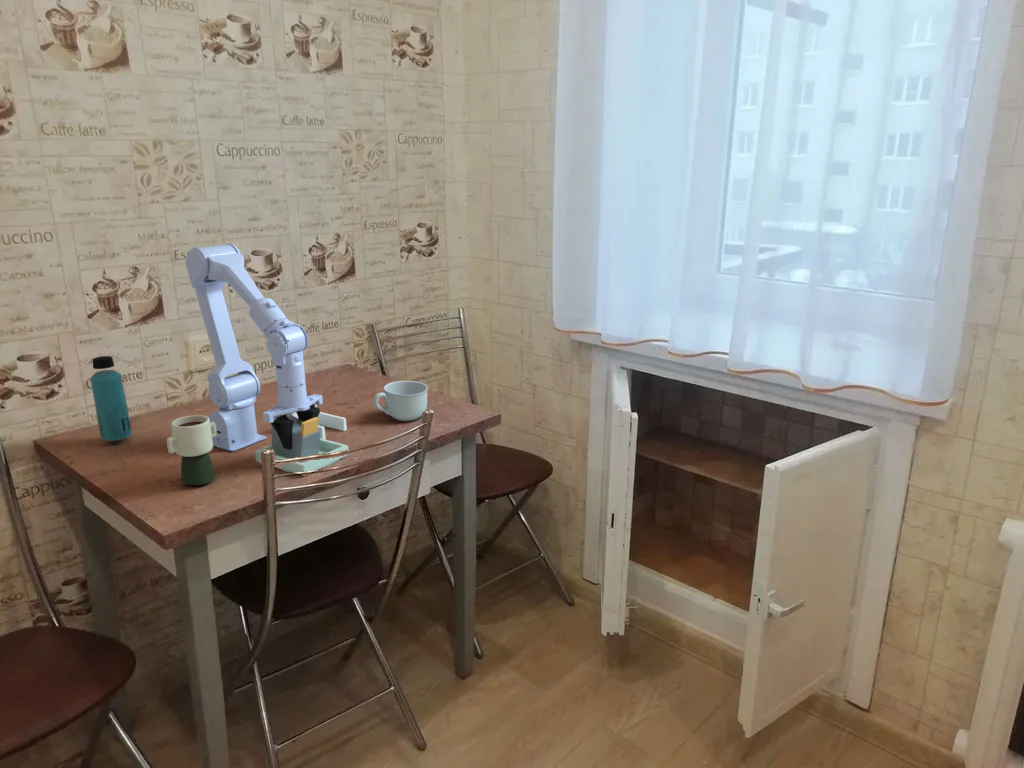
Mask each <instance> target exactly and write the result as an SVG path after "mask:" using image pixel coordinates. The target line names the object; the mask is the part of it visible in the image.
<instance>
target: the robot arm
mask: <svg viewBox="0 0 1024 768" xmlns="http://www.w3.org/2000/svg"><path fill="white" fill-rule="evenodd" d="M184 262H185V266H186V269H187V274H188V276H189V280H190V285H191V287H192V288H193V289H194V291H195V295H196V298H197V302H198V305H199V308H200V313H201V316H202V319H203V323H204V326H205V330H206V334H207V337H208V341H209V344H210V345H209V346H210V348H211V351H212V355H213V358H214V359H213V360H214V362H215V366H214V367H213V368H212V369H211V371H210V372H209V373H208V375H207V381H208V394H209V395H208V396H209V398H210V400H211V401H212V403H213V404H214V405H215V406H216V408H217V409H216V410H214V411H212V412H211V413H210V414H209V416H208V417H209V420H210V422H215V424H216V430H217V436H216V437H214V438H212V441H213V447H214V448H215V447H216V448H218V449H222V450H225V451H230V452H236V451H238V450H241V449H243V448H246V447H249V446H250V445H253V444H256V443H259V442H261V441H264V440H267V436H265V435H261V434H259V433H258V428H257V419H256V412H255V410H256V408H255V402H257V397H258V396H259V395H260V392H261V383H260V379H259V378H258V376H257V375H256V373H255V371H254V367H253V365H252V364H251V363H249V362H246V361H245V360H243V359H241V355H240V351H239V347H238V343H237V340H236V337H235V333H234V330H233V326H232V322H231V318H230V315H229V311H228V308H227V304H226V301H225V296H224V293H223V289H224V288H225V285H227V284H228V285H229V286H230V287H231V288H232V289H233V290H234V291H235V293H237V295H238V296H239V297H240V298H241V299H242V300H243V301H244V303H246V304H247V306H249V310H248V315H249V317H250V319H251V320H252V321H253V322H254V324H255V325H256V326H257V328H258V329H259V330H260V332H261V333H262V334H263V335H264V337H265V338H266V342H265V345H266V349H267V350H268V352H269V355H270V356H271V362H272V364H273V365H274V367H275V369H274V370H275V377H276V386H277V396H278V397H277V398H278V403H277V404H276V405H274V406H273V407H271V408H270V409H268V410H266V411H263V412H262V421H263V422H264V423H266V424H267V423H268V424H270V425H271V426H272V427H274V429H275V430H276V432H277V434H278V436H279V438H280V440H281V443H282V446H283V448H285V449H288V450H291V449H292V429H293V424H294V421H293V420H290V419H288V417H287V416H289V415H290V414H292V413H295V412H296V413H297V416H298V419H300V420H302V421H307V420H310V419H312V418H315V417H318V415H319V413H320V412H321V409H320V408H319V407H318V406H319V405H322V404H323V403H324V402H323V395H322V394H318V393H314V394H312V395H307V394H308V393H307V385H306V374H305V373H306V372H305V363H304V354H303V353H304V351H305V350H307V347H308V343H309V339H308V334H307V333H306V330H305V329H304V327H303V326H302V325H300V324H298V323H295V322H294V321H292V320H289V319H288V318H287V316H286V315H285V313H284V312H283V311H282V310H281V309H280V307H279V306H278V305H277V303H276V302H275V301H274V300H273V299H272V298H269V297H268V298H267V297H264V295H263V294H262V293H261V291H260V290H259V288H258V286H257V284H256V283H255V282H254V280H253V279H252V277H251V276H250V274H249V272H248V271H247V269H246V268H245V259H244V255H243V254H242V253H241V252H240V250H239V248H238V247H237V246H236V245H235V244H233V243H225V244H219V245H210V246H202V247H197V246H195V247H192V248H190V249H189V251H188V253H187V255H186V258H185V260H184ZM315 405H317V407H315ZM211 433H212V432H211Z"/></svg>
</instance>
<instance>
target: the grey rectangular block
mask: <svg viewBox="0 0 1024 768" xmlns="http://www.w3.org/2000/svg"><path fill="white" fill-rule="evenodd" d="M287 417H288V419H290V420H293V421H294V424H293V429H292V449H291V450H288V449H285V448H283V446H282V443H281V440H280V438H279V436H278V434H277V432H276V430H275V429H274V427H273V426H272V429H271V430H272V431H271V444H270V445H271V446H273V447H274V448H276V449H278V450H279V451H281V452H283V453H284V454H286V455H288V456H290V457H291V458H295V457H305V456H310V455H316V454H319V444H320V433H321V431H320V430H318V421H319V418H317V417H315V418H312V419H310V420H307V421H302V420H300V419H298V418H296V417H295V416H293V415H287ZM301 463H302V462H301Z"/></svg>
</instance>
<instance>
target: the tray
mask: <svg viewBox="0 0 1024 768" xmlns="http://www.w3.org/2000/svg"><path fill="white" fill-rule="evenodd" d="M264 449H273V450H274V451H275V459H276V460H283V459H287V458H291V457H290V456H288V455H286V454H284V453H283V452H281V451H279V450H278V449H276V448H274V447H273V446H271V444H270V445H268V446H265V447H262V448H260V449H257V450H255V451H254V455H255V462H256V463H257V462H259V463H258V464H261V463H260V458H261V451H262V450H264ZM345 450H348V451H349V445H347V444H344V443H340V442H336V441H332V440H328V439H322V438H320V444H319V454H323V453H326V454H327V453H334V452H339V451H345ZM349 454H350V453H349ZM349 454H348V455H344V456H339V457H335V458H329V459H320V460H310V461H307V462H302V463H300V462H296V463H292V464H287V465H282V466H281V467H282V469H283V470H282V471H284V472H287V473H290V472H308V471H312V470H318V469H321V468H323V469H325V468H327V467H329V466H332V465H334V464H336V463H338V462H340V461H341V460H340V458H342V457H346V456H348V457H349V456H350V455H349ZM346 458H347V457H346ZM339 460H340V461H339ZM337 461H338V462H337ZM335 462H336V463H335ZM333 463H334V464H333ZM326 466H327V467H326ZM324 467H325V468H324ZM321 470H322V469H321Z"/></svg>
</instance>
